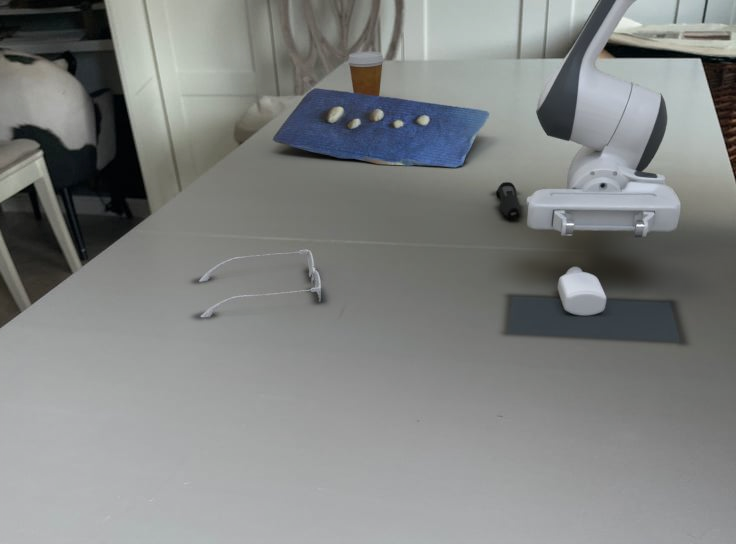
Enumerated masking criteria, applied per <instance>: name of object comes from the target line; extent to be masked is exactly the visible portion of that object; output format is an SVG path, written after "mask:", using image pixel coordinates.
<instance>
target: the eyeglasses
mask: <svg viewBox="0 0 736 544" xmlns="http://www.w3.org/2000/svg"><path fill="white" fill-rule="evenodd" d="M284 254H288V252H278V253H276V255H284ZM289 254H299V255H304V254H306V255H307V261H308V262H307V263H308V277H310V278H311V285H313V283H314V287H311V288H310V289H304V290H295V291H285V292H275V293H274V292H273V293H264V294H246V295H245V294H244V295H243V294H242V295H236V296H231V297H229V298H226V299H224V300H221V301H220V302H218V303H215V304H214V305H212V306H210V308H208V309H206V310H205V311H204V312H203V313H202V314H201V315H200V318H210V317H211V316H212V315H213V313H214V311H215V310H217V309H218V308H219V307H220V306H221V305H224V304H225V303H226V302H229V301H231V300H234V299H239V298H240V299H241V298H251V297H260V296H261V297H262V296H270V295H271V296H272V295H283V294H292V293H300V292H311V293H315V292H316V294H317V295H318V302H321V301H322V283H321V277H320V274H319V273H320V272H318V270H316V267H315V262H314V261H315V260H314V257H313V253H312V251H311V250H309V249H300V250H299V251H293V252H289ZM274 255H275V253H267V254H256V255H245V256H238V257H237V256H236V257H233V258H229V259H227V260H224V261H222V262H220V263H219V264H217V265H216V266H214V267H212V268H211V269H209V271H207V272H206V273H204V275H202V277H201V278H200V279H199V280H198V281H199V282H201V283H202V282H206V281H209V280H210V278H211V275H212V274H213V273H214V272H215V271H216V270H217V269H218V268H220V267H221V266H222V265H224V264H226V263H228V262H231V261H234V260H239V259H246V258H253V257H263V256H274Z"/></svg>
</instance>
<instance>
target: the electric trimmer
mask: <svg viewBox="0 0 736 544" xmlns="http://www.w3.org/2000/svg"><path fill="white" fill-rule="evenodd" d="M517 194H518V193H517V189H516V186H515V185H514V184H513V183H512V182H509V181H506V182H501V183H500V185H499V186H498V188H497V189H496V191H495V196H496V197H497V198H500V203H499V209H500V210H501V212H502V214H503V215H504V216H505V218H507V219H517V218H520V216H521V205H520V203H519V199H518V195H517Z"/></svg>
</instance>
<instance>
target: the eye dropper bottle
mask: <svg viewBox="0 0 736 544" xmlns="http://www.w3.org/2000/svg"><path fill="white" fill-rule="evenodd" d="M557 292H558V295H559V298H561V301H562V304H563V307H564V309H565V310H566V311H567V312H569V313H571V314H575V315H580V316H588V315H594V314H598V313H601V312H602V311H604V309H605V305H606V300H608V299H607V295H606V293H605V291H604V289H603V287H602V284H601V281H599V279H598V277H597V276H596V275H595V274H592V273H590V272H587V271H586V272H585V271H583V270H582V269H581V268H580V267H579V266H572V267H570V268H568V269H567V271H566V273H565V274H563V275H561V276H560V277H559V279H558V283H557Z"/></svg>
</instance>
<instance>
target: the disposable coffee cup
mask: <svg viewBox="0 0 736 544" xmlns="http://www.w3.org/2000/svg"><path fill="white" fill-rule="evenodd" d="M384 61H385V59H384V56H383V53H382V52H379V51H357V52H353V53H352V52H351V53H350V54H349V55H348V60H347V63H348V65H349V71H350V77H351V78H350V79H351V85H352V91H353V92H352V93H358V94H364V95H373V96H380V94H381V93H380V92H381V81H382V71H383V64H384Z"/></svg>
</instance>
